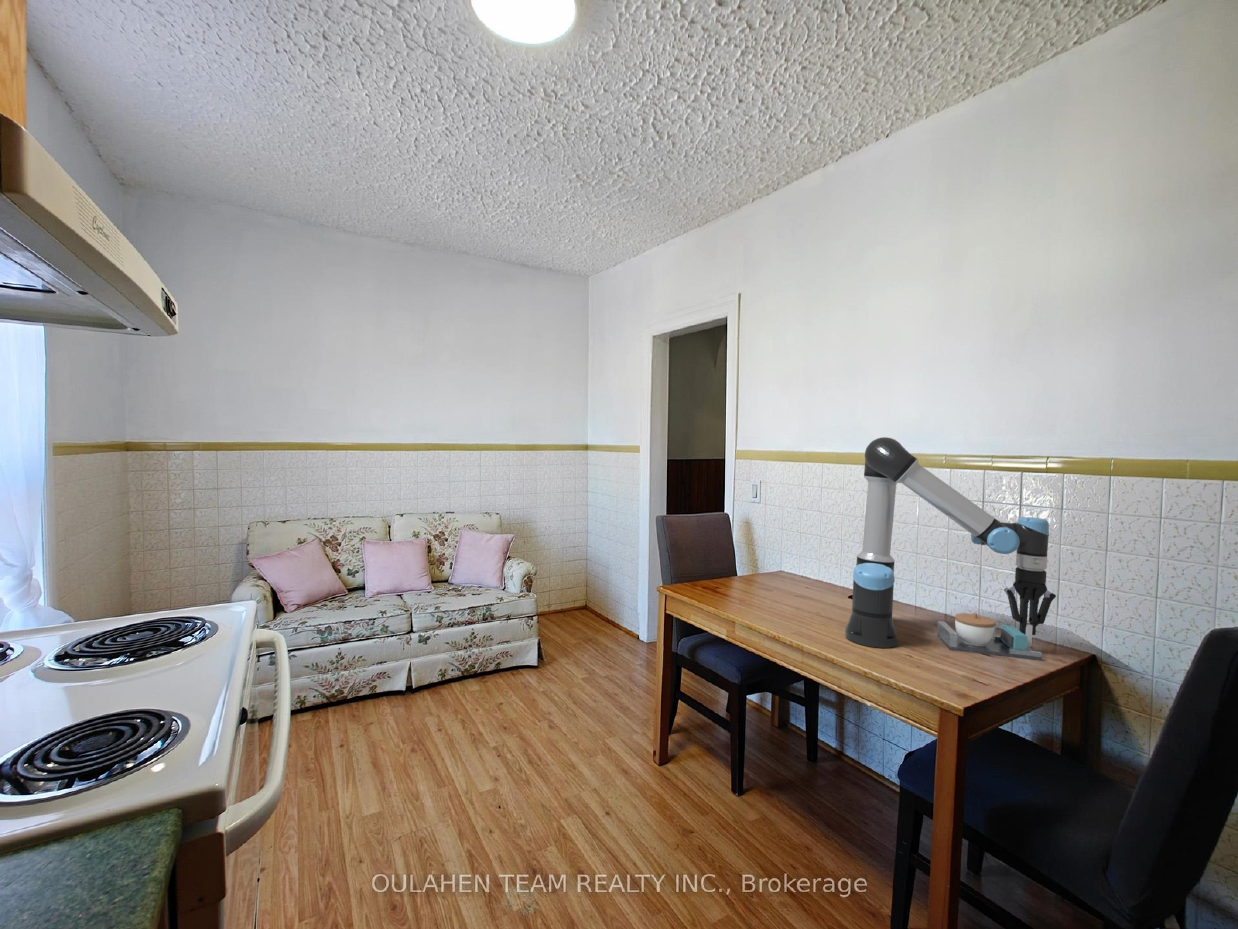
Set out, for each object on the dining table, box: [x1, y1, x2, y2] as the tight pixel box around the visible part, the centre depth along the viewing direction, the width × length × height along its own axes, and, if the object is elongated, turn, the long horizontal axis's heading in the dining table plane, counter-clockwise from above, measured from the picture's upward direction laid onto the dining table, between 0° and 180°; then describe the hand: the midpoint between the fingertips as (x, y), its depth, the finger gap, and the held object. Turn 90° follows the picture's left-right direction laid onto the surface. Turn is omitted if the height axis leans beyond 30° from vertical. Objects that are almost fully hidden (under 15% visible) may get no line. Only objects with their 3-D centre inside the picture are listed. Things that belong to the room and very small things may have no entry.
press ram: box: [999, 624, 1027, 650], centre depth 167 cm, size 4×10×5 cm, turn 164°
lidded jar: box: [954, 612, 997, 646], centre depth 169 cm, size 11×11×9 cm
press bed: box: [936, 620, 1043, 661], centre depth 169 cm, size 24×13×5 cm, turn 74°
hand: (1026, 644), depth 166 cm, fingers closed
